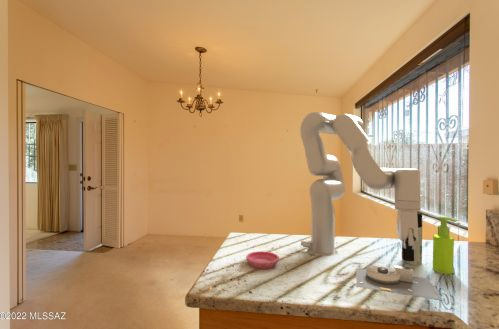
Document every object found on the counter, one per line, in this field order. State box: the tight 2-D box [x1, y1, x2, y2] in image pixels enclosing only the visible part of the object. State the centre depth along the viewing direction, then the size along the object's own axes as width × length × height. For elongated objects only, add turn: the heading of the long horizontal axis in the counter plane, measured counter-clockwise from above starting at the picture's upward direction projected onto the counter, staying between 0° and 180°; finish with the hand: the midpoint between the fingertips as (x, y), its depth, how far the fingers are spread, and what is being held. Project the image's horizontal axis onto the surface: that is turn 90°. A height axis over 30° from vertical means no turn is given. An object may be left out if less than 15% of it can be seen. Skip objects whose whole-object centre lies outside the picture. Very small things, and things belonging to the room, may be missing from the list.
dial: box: [365, 265, 414, 285], centre depth 88 cm, size 14×10×4 cm
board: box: [355, 268, 443, 301], centre depth 86 cm, size 22×17×1 cm
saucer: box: [245, 250, 280, 270], centre depth 103 cm, size 12×12×3 cm
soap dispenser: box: [432, 216, 459, 275], centre depth 95 cm, size 6×7×20 cm
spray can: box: [401, 211, 423, 266], centre depth 104 cm, size 7×7×20 cm
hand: (408, 260), depth 91 cm, fingers closed
